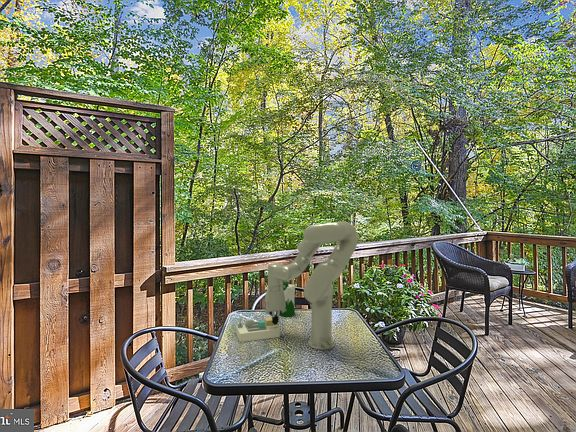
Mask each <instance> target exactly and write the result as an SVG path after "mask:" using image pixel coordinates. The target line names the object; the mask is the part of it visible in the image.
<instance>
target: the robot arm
mask: <svg viewBox="0 0 576 432" xmlns="http://www.w3.org/2000/svg"><path fill="white" fill-rule="evenodd" d="M302 235H303V239H302V240H301V241H300V243H299V244H298V245H297V251H298V254H297V255H296V257H295V258H294V259H293V260H292V262H291V263H289V264H285V265H282V264H281V263H277V262H275V263H270V264H269V265H268V266H267V290H266V291H265V294H264V295H265V297H264V309H265V310H264V313H265V314H266V315H270V316H271V318H272V323H273V324H274V325H277V326H278V324H279V317H280V316H279V315H280V314H281V313H283V312H285V311H286V310H285V307H286V303H285V294H284V290H283V288H285V285H283V282H288V281H291V280H293V279H296V278H298V277H300V276H301V274H302V273H303V272H304V271H305V270H306V268H308V267H309V265H310V263H311V260H312V257H313V256H314V255H315V254H316V252H317V251H319V249H320V248H321V246H322V245H323V244H328V243H337V244H336V245H335V247H333V249H332V252H331V253H330V255H329V256H328V258H327V259H326V260H323V261H321V262H320V263H318V264H317V265H316V266H315V268H314V270H313V271H312V273H311V275H310V277H309V278H308V280H307V281H306V283H305V285H304V288H303V295H304V298H305V299H306V301H308V302H309V303H311V314H310V315H311V319H310V320H311V325H310V326H311V328H310V329H311V332H310V333H311V338H310V339H308V341H307V344H308V346H309V347H310V348H312V349H315V350H319V351H320V350H321V351H326V350H331V349H333V348H334V347H335V346H336V341H334V339H333V338H332V336H333V335H332V334H333V332H332V330H333V329H332V327H333V325H332V324H333V323H332V322H333V321H332V317H333V316H332V315H333V314H332V312H333V308H332V307H333V297H334V286H333V282H334V281H336V280H337V279H339V278H340V276H341V275H342V273H343V272H344V270H345V269H346V267H347V265H348V263H349V261H350V259H351V258H352V256H353V254H354V252H355V251H356V249H357V245H358V242H359V241H358V233H357V230H356V228H355V227H354V225H353V224H352V223H350V222H348V221H335V222H328V223H321V224H317V223H316V224H311V225H308V226H307V227H306V228H305V229H304V230H303V234H302Z"/></svg>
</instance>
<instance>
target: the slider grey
mask: <svg viewBox="0 0 576 432" xmlns="http://www.w3.org/2000/svg"><path fill="white" fill-rule="evenodd" d="M245 323H246V325H247V326H251V325H253V323H254V319H253V318H246V319H245Z"/></svg>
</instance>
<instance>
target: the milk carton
mask: <svg viewBox="0 0 576 432" xmlns="http://www.w3.org/2000/svg"><path fill="white" fill-rule="evenodd" d="M283 285H285V288H283V290H284V294H285V303H286V307H285V310H286V311H285V312H283V313H281V314H280V315H279V317H283V316H284V318H288V317H289V318H291V317H292V316H295V315H296V312H295V311H296V310H295V291H296V285H295V284H289V282H288V281H283Z"/></svg>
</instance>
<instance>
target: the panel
mask: <svg viewBox="0 0 576 432" xmlns="http://www.w3.org/2000/svg"><path fill="white" fill-rule="evenodd" d="M242 319H243V317H242V316H239V320H238V321H239V322H238V324H235V334H236V336H237V339H238V340H239V343H244V342H251V341H258V340H266V339H274V338H280V337H281V336H280V335H281V328H280V327H278V325H272V326H266V325H265V328H258V321H256V322H254V321H253V325H251V326H247V325H246V322H245V324H243V323H242V321H243V320H242Z"/></svg>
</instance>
